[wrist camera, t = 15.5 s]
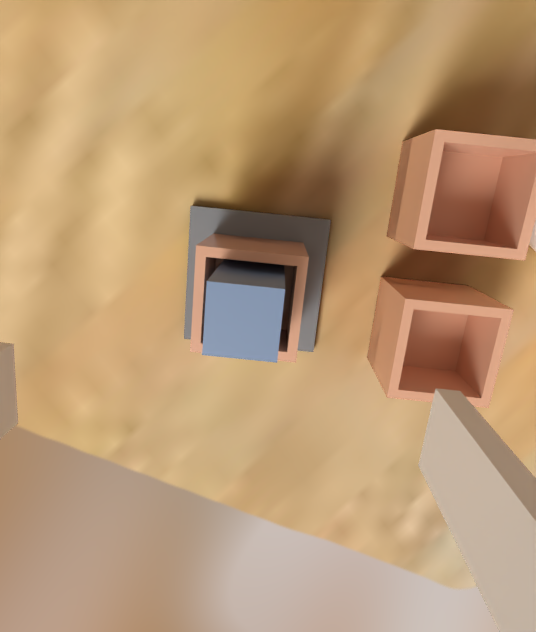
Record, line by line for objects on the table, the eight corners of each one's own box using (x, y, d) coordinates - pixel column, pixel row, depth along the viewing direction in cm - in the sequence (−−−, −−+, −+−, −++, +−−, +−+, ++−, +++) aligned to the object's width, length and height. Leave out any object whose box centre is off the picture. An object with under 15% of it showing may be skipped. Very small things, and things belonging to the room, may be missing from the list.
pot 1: (208, 319, 35) (190, 351, 28) (213, 233, 33) (195, 245, 26) (293, 328, 35) (295, 362, 28) (303, 242, 33) (308, 256, 26)
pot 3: (367, 357, 36) (387, 397, 29) (380, 276, 34) (405, 298, 27) (449, 366, 36) (488, 407, 29) (467, 285, 34) (513, 309, 27)
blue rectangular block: (221, 314, 32) (202, 354, 24) (225, 257, 31) (206, 281, 23) (278, 320, 32) (277, 362, 24) (284, 263, 31) (285, 289, 23)
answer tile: (185, 336, 36) (184, 338, 35) (192, 205, 33) (190, 205, 32) (312, 349, 36) (313, 351, 35) (330, 219, 33) (330, 220, 32)
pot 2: (386, 236, 33) (413, 249, 26) (402, 141, 31) (435, 129, 25) (475, 245, 33) (525, 260, 26) (496, 151, 31) (555, 141, 25)
